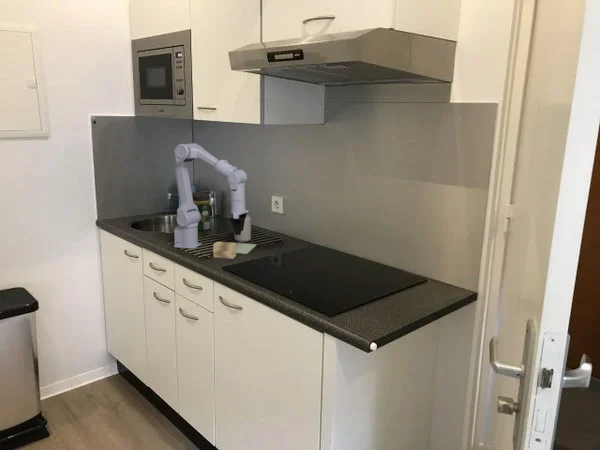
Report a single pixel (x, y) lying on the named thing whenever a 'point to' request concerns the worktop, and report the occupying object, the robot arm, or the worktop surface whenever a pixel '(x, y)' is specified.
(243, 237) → the can
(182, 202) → the robot arm
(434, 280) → the worktop surface
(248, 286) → the worktop surface
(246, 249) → the rubber mat
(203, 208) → the coffee jar
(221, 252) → the birch block
